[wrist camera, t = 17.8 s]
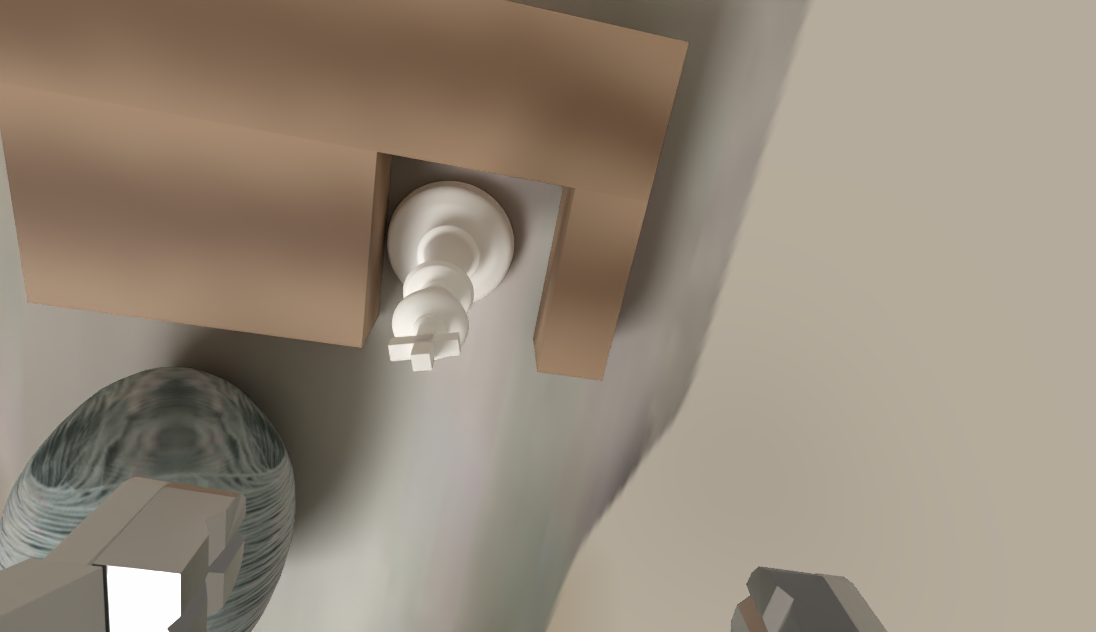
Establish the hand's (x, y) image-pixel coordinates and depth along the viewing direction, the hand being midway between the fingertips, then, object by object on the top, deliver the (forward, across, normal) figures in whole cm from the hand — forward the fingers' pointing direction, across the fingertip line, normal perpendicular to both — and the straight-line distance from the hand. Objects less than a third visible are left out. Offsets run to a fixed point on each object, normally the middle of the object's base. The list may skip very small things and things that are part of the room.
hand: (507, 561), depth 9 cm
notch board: (+15, +6, -3) cm, 16 cm away
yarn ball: (+15, +12, +12) cm, 23 cm away
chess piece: (+15, +3, -1) cm, 15 cm away
